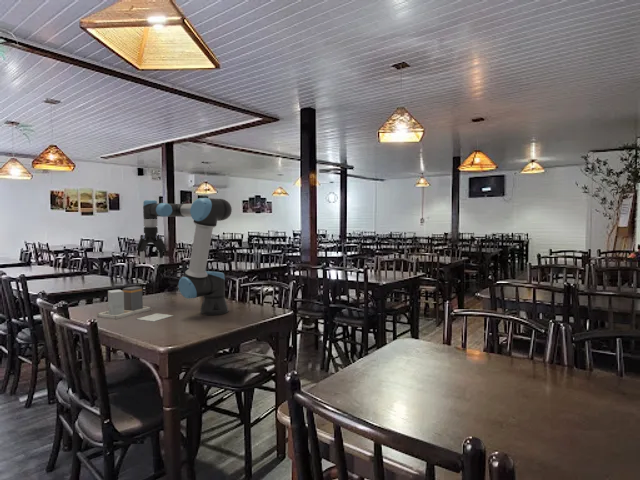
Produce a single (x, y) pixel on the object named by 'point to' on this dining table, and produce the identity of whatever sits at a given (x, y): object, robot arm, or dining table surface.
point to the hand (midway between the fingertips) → (151, 263)
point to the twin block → (133, 298)
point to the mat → (154, 317)
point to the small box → (115, 302)
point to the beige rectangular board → (125, 314)
